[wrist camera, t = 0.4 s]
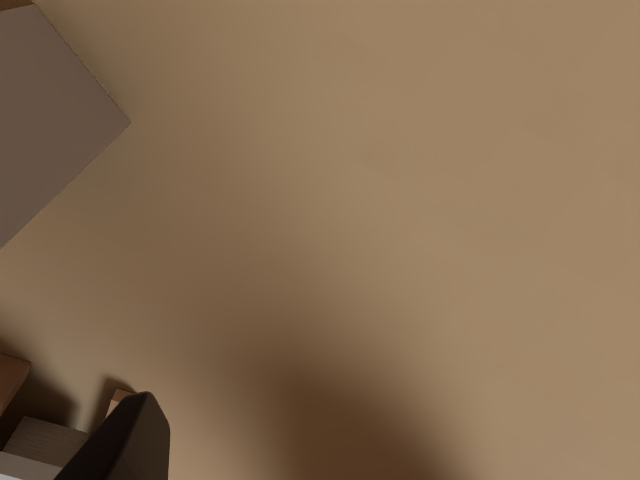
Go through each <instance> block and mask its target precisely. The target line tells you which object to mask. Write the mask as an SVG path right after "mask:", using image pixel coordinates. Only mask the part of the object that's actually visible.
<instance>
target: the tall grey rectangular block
mask: <svg viewBox="0 0 640 480" xmlns="http://www.w3.org/2000/svg"><path fill="white" fill-rule="evenodd" d="M130 124H131V122H130V121H129V120H128V119H127V118H126V116H125V115H124V114H123V113H122V111H121V110H120V109H119V108H118V106H117V105H116V104H115V103H114V101H113V100H112V99H111V98H110V96H109V95H108V94H107V93H106V91H105V90H104V89H103V88H102V87H101V85H100V84H99V83H98V82H97V80H96V79H95V78H94V77H93V75H92V74H91V73H90V72H89V70H88V69H87V68H86V67H85V65H84V64H83V63H82V62H81V60H80V59H79V58H78V57H77V55H76V54H75V53H74V52H73V51H72V49H71V48H70V47H69V46H68V44H67V43H66V42H65V41H64V39H63V38H62V37H61V36H60V34H59V33H58V32H57V31H56V29H55V28H54V27H53V26H52V24H51V23H50V22H49V21H48V20H47V18H46V17H45V16H44V15H43V13H42V12H41V11H40V10H39V8H38V7H37V6H36V5H35V4H31V5H27V6H22V7H18V8H13V9H8V10H4V11H0V249H1V248H2V247H3V246H4V245H5V244H6V243H7V242H8V241H9V240H10V239H11V238H12V237H13V236H15V235H16V234H17V233H18V232H19V231H20V230H21V229H22V228H23V227H24V226H25V225H26V224H27V223H28V222H29V221H30V220H31V219H32V218H33V217H34V216H35V215H36V214H37V213H38V212H39V211H40V210H42V209H43V208H44V207H45V206H46V205H47V204H48V203H49V202H50V201H51V200H52V199H53V198H54V197H55V196H56V195H57V194H58V193H59V192H60V191H61V190H62V189H63V188H64V187H65V186H66V185H67V184H68V183H70V182H71V181H72V180H73V179H74V178H75V177H76V176H77V175H78V174H79V173H80V172H81V171H82V170H83V169H84V168H85V167H86V166H87V165H88V164H89V163H90V162H91V161H92V160H93V159H94V158H95V157H97V156H98V155H99V154H100V153H101V152H102V151H103V150H104V149H105V148H106V147H107V146H108V145H109V144H110V143H111V142H112V141H113V140H114V139H115V138H116V137H117V136H118V135H119V134H120V133H121V132H122V131H123V130H125V129H126V128H127V127H128V126H129V125H130Z"/></svg>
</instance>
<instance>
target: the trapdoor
mask: <svg viewBox="0 0 640 480" xmlns="http://www.w3.org/2000/svg"><path fill="white" fill-rule="evenodd" d="M88 435H89V433H85V432H82V431H78V430H75V429H71V428H68V427H64V426H61V425H57V424H54V423H50V422H46V421H43V420H39V419H36V418H32V417H29V416H25V415H24V417H23V418H22V420H21V421H20V423H19V425H18V426H17V428H16V429H15V431H14V433H13V434H12V436H11V437H10V439H9V441H8V442H7V444H6V445H5V447H4V449H3V450H2V452H1V451H0V480H53V479H54V478H55V477H56V475H57V474H58V473H59V472H60V471H61V470H62V468H63V467H64V466H65V465H66V464H67V463H68V461H69V460H70V459H71V458H72V457H73V456H74V454H75V453H76V452H77V451H78V450H79V449H80V447H81V446H82V445H83V444H84V443H85V442H86V440H87V438H88Z"/></svg>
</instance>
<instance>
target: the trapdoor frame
mask: <svg viewBox="0 0 640 480" xmlns="http://www.w3.org/2000/svg"><path fill="white" fill-rule="evenodd" d="M30 366H31V363H30V362H27V361H23V360H20V359H17V358H13V357H10V356H6V355H3V354H0V417H1V415H2V414H3V412H4V411H5V409H6V408H7V406H8V405H9V403H10V402H11V400H12V399H13V397H14V396H15V394H16V393H17V391H18V390H19V388H20V387H21V386H22V384H23V383H24V381H25V380H26V378H27V377H28V374H29V370H30ZM129 394H133V393H131V392H127V391H124V390H121V389H116V391H115V393H114V396H113V398H112V400H111V403H110V406H109V409H108V412H107V416H108V415H109V414H110V413H111V411H112V410H113V409H114V408H115V407H116V406H117V404H118V403H119V402H120V401H121V400H122V399H123V398H124V397H125V396H126V395H129ZM107 416H106V417H107Z"/></svg>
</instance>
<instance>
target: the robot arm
mask: <svg viewBox="0 0 640 480" xmlns="http://www.w3.org/2000/svg"><path fill="white" fill-rule="evenodd" d="M169 449H170V427H169V424H168V421H167V419H166V417H165V415H164V413H163V411H162V410H161V408H160V406H159V404H158V402H157V400H156V399H155V397H154V395H153V394H152V393H151V392H147V391H145V392H139V393H133V394H129V395H126V396H125V397H124V398H123V399H122V400H121V401H120V402H119V403H118V404H117V406H116V407H115V408H114V409H113V410H112V411H111V413H110V414H109V415H108V416H107V417H106V418H105V420H104V421H103V422H102V423H101V424H100V425H99V427H98V428H97V429H96V430H95V431H94V432H93V433H92V435H91V436H90V437H89V438H88V439H87V440H86V442H85V443H84V444H83V445H82V446H81V447H80V449H79V450H78V451H77V452H76V453H75V454H74V456H73V457H72V458H71V459H70V460H69V461H68V463H67V464H66V465H65V466H64V467H63V468H62V470H61V471H60V472H59V473H58V474H57V475H56V477H55V478H54V479H53V480H168V468H169Z"/></svg>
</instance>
